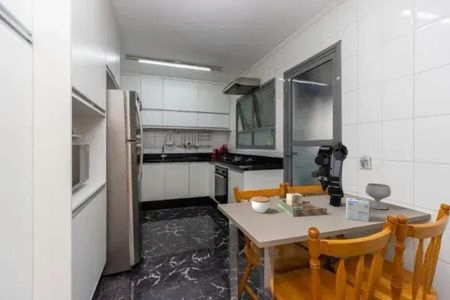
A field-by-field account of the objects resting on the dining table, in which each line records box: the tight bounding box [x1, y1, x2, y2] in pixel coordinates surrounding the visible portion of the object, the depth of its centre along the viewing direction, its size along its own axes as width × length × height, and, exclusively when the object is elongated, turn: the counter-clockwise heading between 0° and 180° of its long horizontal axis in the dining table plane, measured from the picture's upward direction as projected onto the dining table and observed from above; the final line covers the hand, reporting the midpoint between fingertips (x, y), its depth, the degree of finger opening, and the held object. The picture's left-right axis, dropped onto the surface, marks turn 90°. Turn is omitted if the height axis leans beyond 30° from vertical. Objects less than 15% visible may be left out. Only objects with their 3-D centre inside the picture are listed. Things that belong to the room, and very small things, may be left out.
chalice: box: [365, 182, 392, 210], centre depth 155 cm, size 14×14×15 cm
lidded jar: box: [251, 195, 271, 214], centre depth 140 cm, size 11×11×9 cm
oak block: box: [285, 192, 304, 207], centre depth 141 cm, size 7×6×8 cm
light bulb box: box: [345, 197, 370, 223], centre depth 130 cm, size 11×7×11 cm, turn 71°
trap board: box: [277, 199, 328, 217], centre depth 142 cm, size 22×17×5 cm
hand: (323, 191), depth 144 cm, fingers closed
